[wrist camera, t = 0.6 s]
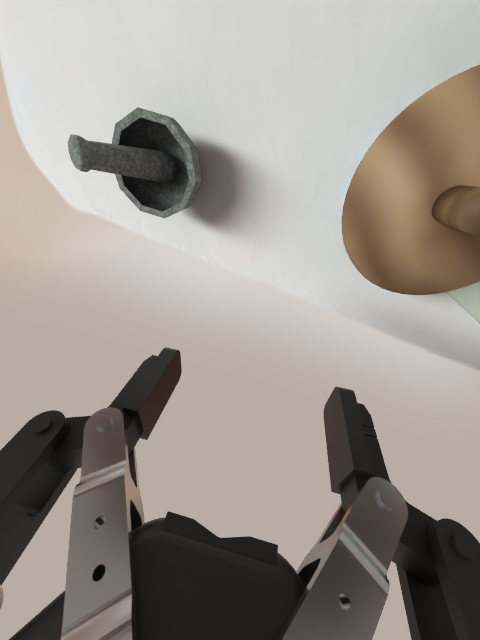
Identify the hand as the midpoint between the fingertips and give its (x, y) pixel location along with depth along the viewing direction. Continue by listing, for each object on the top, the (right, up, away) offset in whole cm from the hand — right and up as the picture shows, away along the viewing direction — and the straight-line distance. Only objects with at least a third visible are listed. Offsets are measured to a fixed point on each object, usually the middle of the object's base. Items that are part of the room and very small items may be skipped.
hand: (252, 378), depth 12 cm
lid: (+20, +14, +10) cm, 26 cm away
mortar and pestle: (-9, +23, +18) cm, 31 cm away
